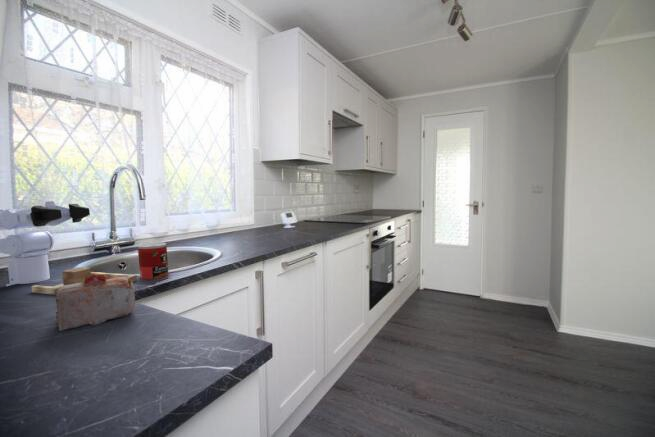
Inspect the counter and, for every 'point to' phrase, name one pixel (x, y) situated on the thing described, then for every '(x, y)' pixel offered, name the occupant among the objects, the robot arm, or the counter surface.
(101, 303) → the food item
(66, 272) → the beige cube
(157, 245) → the canned food
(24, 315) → the counter surface
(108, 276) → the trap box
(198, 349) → the counter surface
